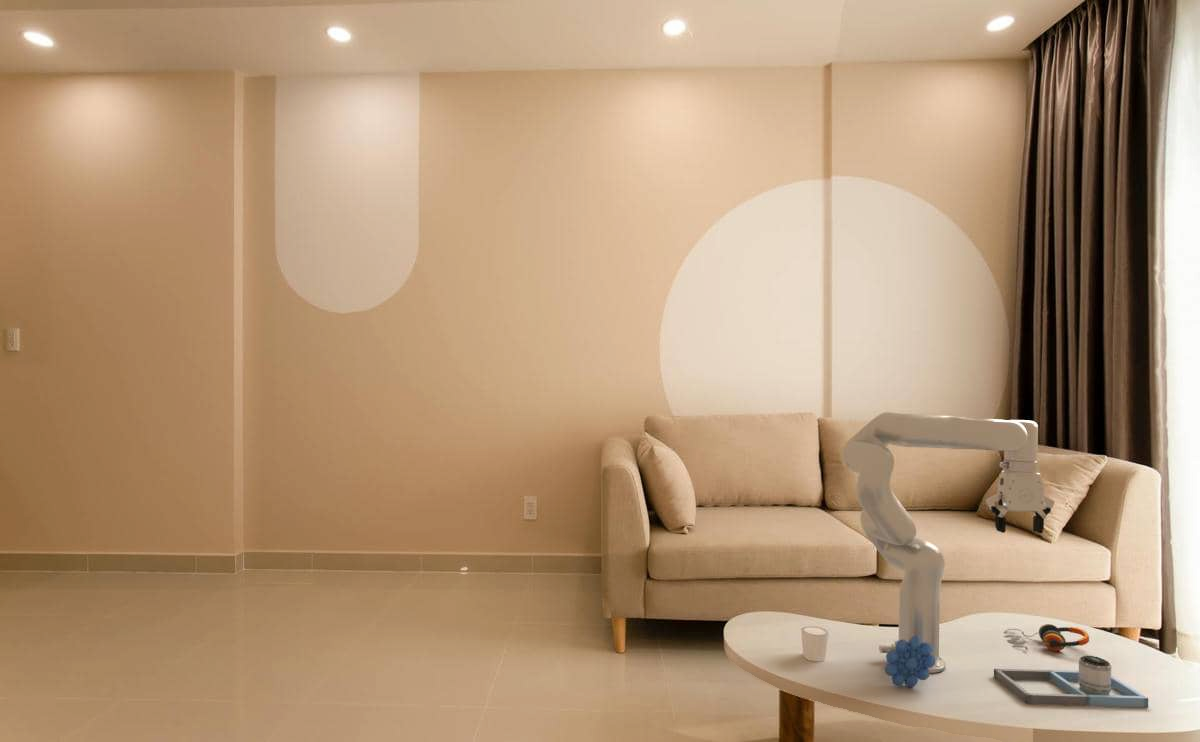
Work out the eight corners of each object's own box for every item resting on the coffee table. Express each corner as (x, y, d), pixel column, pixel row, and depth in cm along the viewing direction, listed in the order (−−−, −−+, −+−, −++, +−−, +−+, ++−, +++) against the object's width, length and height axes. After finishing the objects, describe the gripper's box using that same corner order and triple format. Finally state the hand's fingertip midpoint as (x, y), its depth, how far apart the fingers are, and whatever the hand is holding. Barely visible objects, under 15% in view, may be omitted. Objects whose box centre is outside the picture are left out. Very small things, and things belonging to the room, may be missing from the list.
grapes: (926, 679, 170) (927, 630, 170) (939, 692, 163) (939, 641, 163) (878, 678, 170) (879, 628, 170) (888, 690, 163) (889, 639, 163)
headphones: (998, 620, 204) (1077, 615, 197) (1003, 638, 204) (1082, 633, 196) (1008, 641, 189) (1094, 636, 181) (1012, 661, 188) (1099, 656, 181)
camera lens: (1088, 684, 169) (1089, 651, 169) (1116, 695, 163) (1117, 662, 163) (1072, 688, 166) (1072, 655, 166) (1100, 700, 160) (1100, 666, 160)
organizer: (1027, 703, 158) (1027, 695, 158) (993, 676, 172) (993, 668, 172) (1148, 707, 157) (1148, 698, 157) (1104, 679, 171) (1104, 671, 171)
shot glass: (799, 660, 180) (799, 633, 180) (802, 650, 186) (802, 624, 186) (827, 664, 177) (827, 637, 177) (829, 654, 184) (829, 628, 184)
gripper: (995, 468, 180) (993, 534, 180) (1062, 469, 180) (1061, 536, 180) (979, 464, 188) (978, 527, 188) (1044, 465, 187) (1043, 529, 187)
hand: (1019, 531), depth 184 cm, fingers open, 9 cm apart
